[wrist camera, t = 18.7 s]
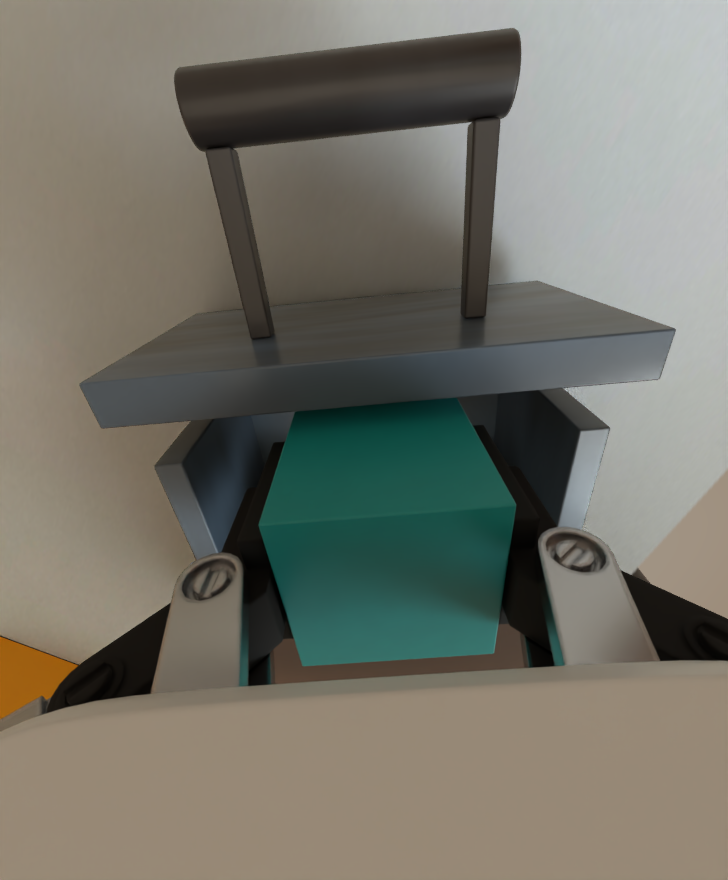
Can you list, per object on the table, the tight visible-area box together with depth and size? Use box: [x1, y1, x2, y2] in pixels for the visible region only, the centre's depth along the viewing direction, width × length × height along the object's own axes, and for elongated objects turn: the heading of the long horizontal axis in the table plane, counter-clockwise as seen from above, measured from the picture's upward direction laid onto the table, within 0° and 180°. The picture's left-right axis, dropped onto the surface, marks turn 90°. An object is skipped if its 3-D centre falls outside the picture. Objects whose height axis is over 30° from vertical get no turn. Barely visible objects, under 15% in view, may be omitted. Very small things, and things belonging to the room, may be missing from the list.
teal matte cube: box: [259, 398, 516, 666], centre depth 10 cm, size 4×4×4 cm
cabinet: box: [273, 624, 524, 684], centre depth 20 cm, size 15×15×9 cm
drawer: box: [79, 28, 676, 560], centre depth 13 cm, size 19×13×7 cm
